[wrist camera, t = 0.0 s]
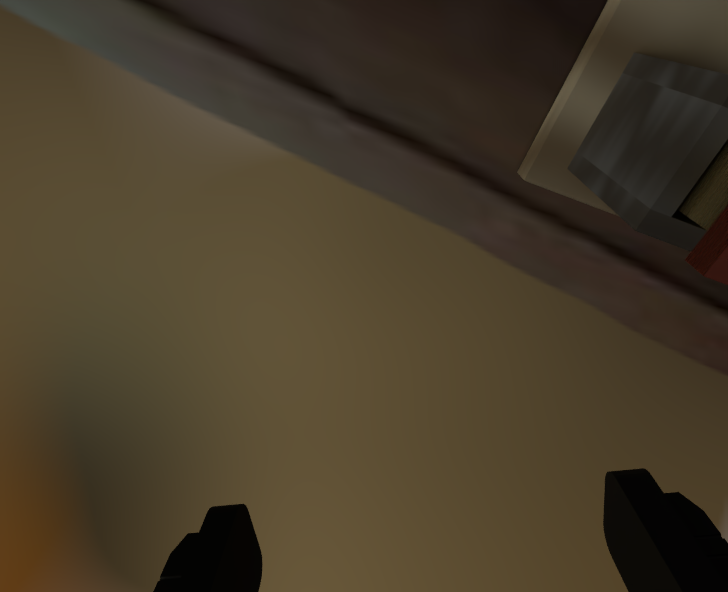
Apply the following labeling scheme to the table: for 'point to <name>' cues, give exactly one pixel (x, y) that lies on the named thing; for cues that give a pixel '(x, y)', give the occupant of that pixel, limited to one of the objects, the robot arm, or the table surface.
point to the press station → (640, 115)
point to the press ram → (710, 218)
